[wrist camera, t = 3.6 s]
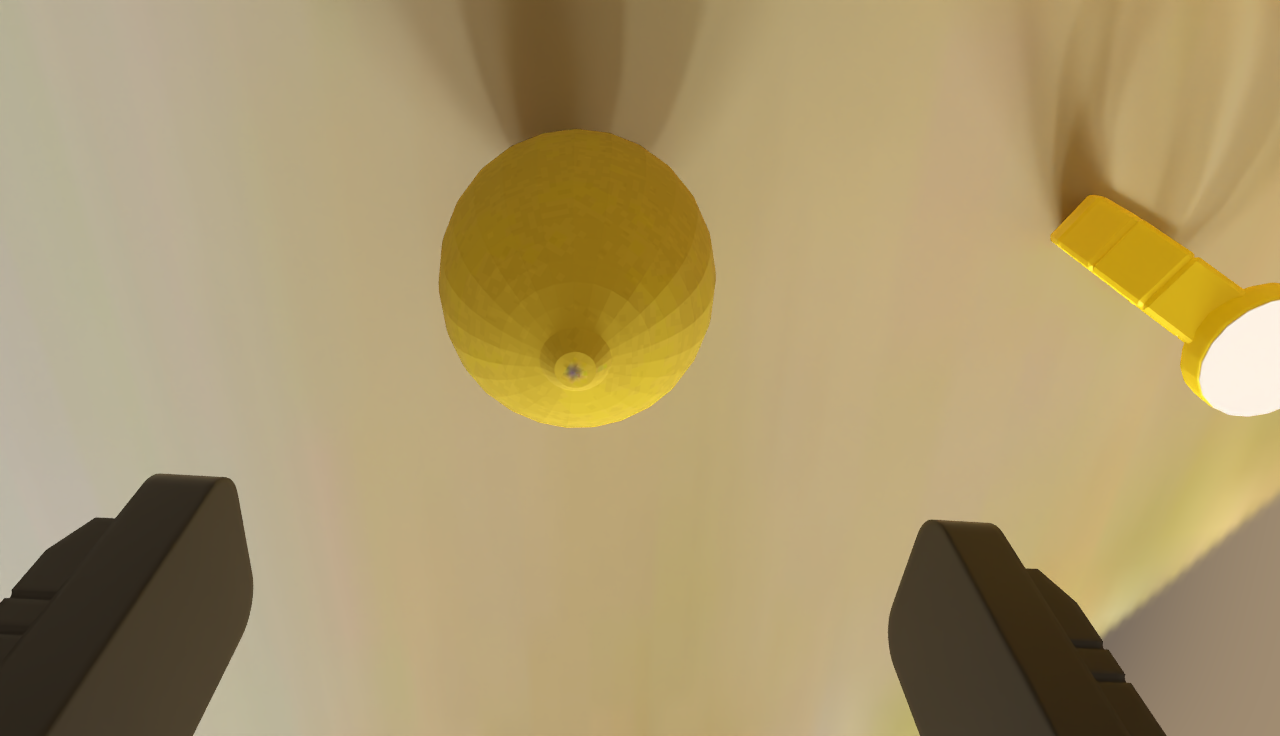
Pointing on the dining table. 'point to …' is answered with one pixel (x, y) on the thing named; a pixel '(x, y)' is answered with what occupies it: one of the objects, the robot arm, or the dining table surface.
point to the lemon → (577, 278)
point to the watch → (1185, 304)
